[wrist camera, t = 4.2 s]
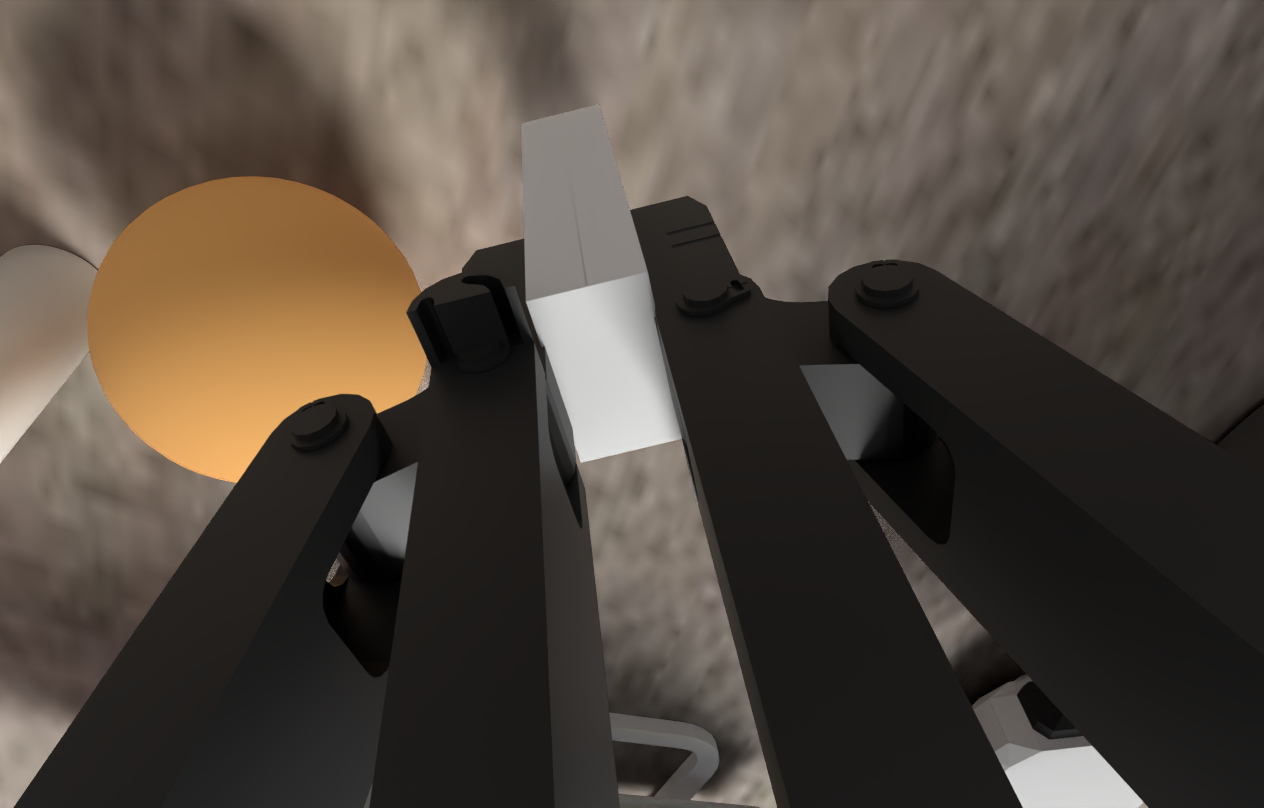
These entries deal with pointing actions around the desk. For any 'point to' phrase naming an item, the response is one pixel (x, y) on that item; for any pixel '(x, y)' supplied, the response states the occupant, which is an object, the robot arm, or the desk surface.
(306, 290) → the ball
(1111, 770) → the robot toy
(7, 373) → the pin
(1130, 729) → the robot arm
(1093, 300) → the desk surface
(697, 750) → the network device
